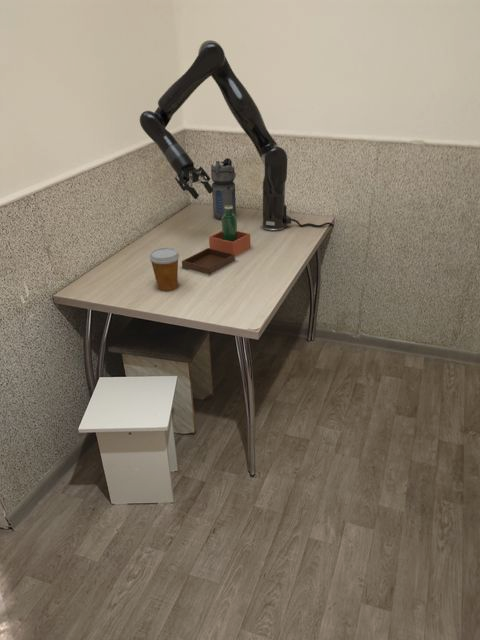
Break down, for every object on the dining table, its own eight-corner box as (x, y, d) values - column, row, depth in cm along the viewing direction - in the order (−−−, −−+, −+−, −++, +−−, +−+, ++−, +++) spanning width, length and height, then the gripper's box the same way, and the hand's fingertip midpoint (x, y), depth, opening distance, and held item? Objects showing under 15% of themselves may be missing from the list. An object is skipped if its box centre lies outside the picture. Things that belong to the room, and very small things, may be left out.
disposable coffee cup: (187, 283, 171) (184, 249, 165) (173, 295, 163) (170, 260, 157) (161, 279, 174) (157, 245, 167) (147, 290, 166) (142, 256, 160)
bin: (227, 242, 203) (226, 228, 200) (250, 248, 198) (250, 233, 194) (209, 251, 195) (208, 236, 192) (233, 257, 190) (233, 242, 186)
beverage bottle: (241, 213, 234) (240, 156, 221) (229, 222, 224) (227, 163, 210) (221, 211, 237) (219, 154, 224) (208, 219, 227) (205, 161, 213)
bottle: (234, 245, 199) (233, 203, 190) (239, 250, 195) (238, 207, 186) (221, 247, 197) (218, 205, 188) (225, 252, 193) (223, 209, 184)
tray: (208, 254, 192) (208, 247, 191) (235, 261, 187) (234, 254, 185) (182, 268, 182) (181, 261, 180) (209, 275, 176) (208, 268, 175)
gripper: (170, 156, 182) (197, 193, 183) (195, 149, 192) (221, 184, 193) (161, 169, 188) (187, 205, 188) (186, 162, 198) (211, 196, 198)
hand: (204, 194), depth 191 cm, fingers open, 8 cm apart
